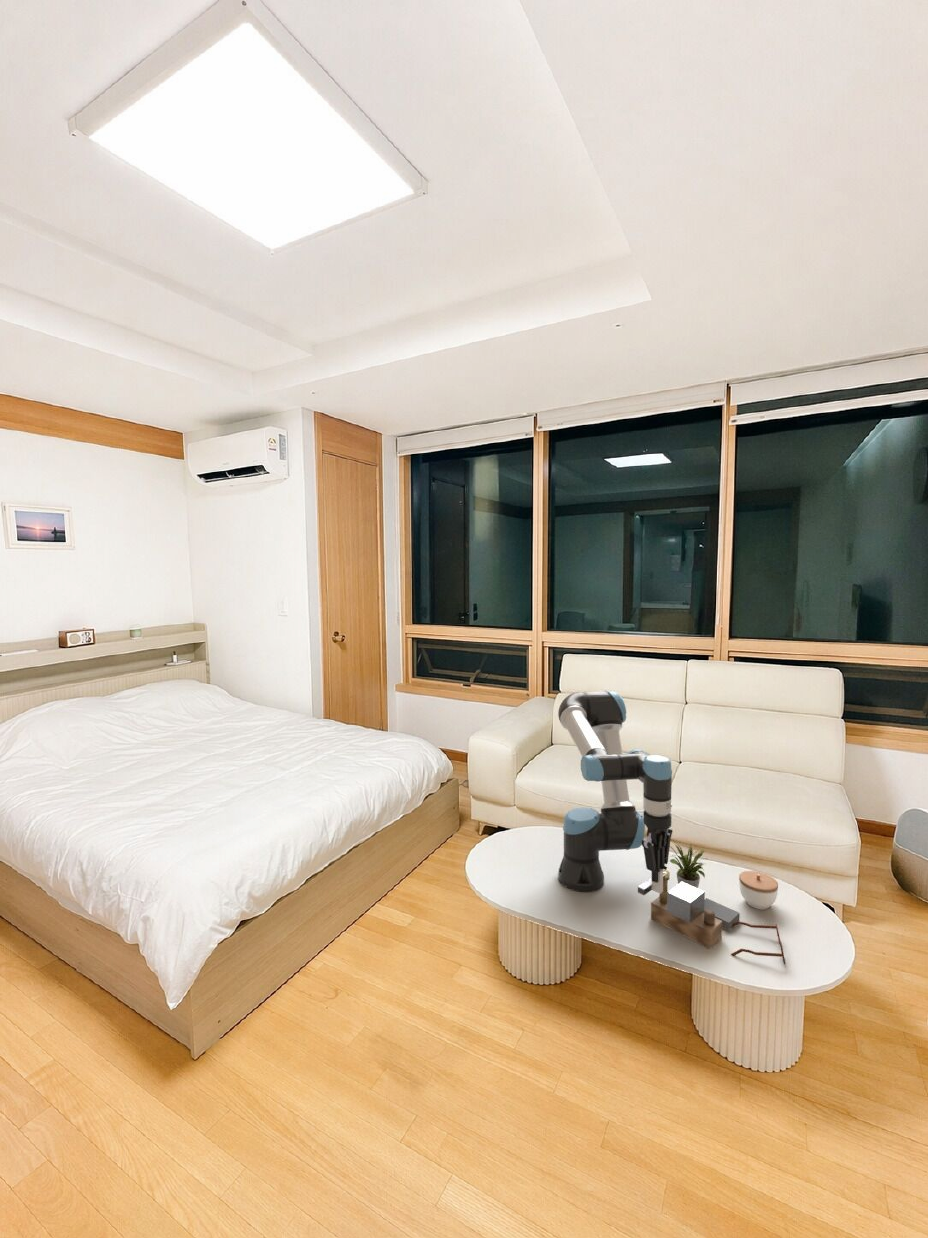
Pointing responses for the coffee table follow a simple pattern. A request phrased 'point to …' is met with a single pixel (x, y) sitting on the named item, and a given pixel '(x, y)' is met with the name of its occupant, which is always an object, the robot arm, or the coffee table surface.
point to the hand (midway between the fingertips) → (657, 890)
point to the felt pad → (722, 913)
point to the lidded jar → (758, 889)
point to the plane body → (699, 930)
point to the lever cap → (685, 902)
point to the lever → (647, 885)
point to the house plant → (688, 867)
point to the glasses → (760, 952)
